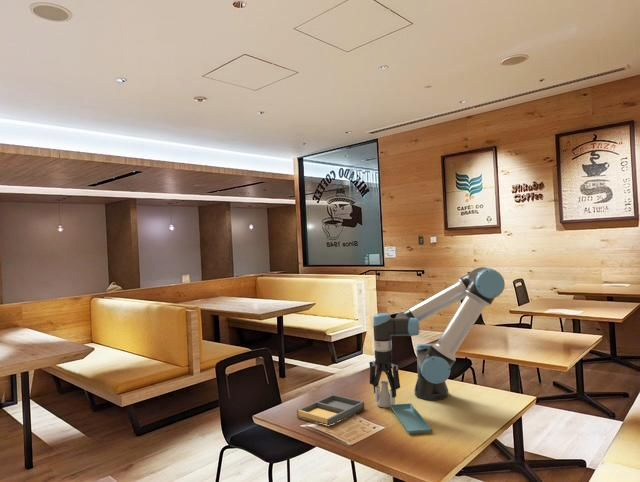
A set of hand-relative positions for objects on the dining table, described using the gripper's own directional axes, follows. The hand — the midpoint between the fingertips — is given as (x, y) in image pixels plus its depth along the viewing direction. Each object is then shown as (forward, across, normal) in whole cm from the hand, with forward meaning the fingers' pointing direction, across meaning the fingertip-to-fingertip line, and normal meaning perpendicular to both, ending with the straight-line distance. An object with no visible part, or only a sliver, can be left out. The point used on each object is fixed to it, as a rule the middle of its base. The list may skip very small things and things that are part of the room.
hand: (385, 402), depth 197 cm
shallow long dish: (+2, +17, -9) cm, 19 cm away
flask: (+1, 0, 0) cm, 1 cm away
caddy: (+1, -14, -20) cm, 25 cm away
